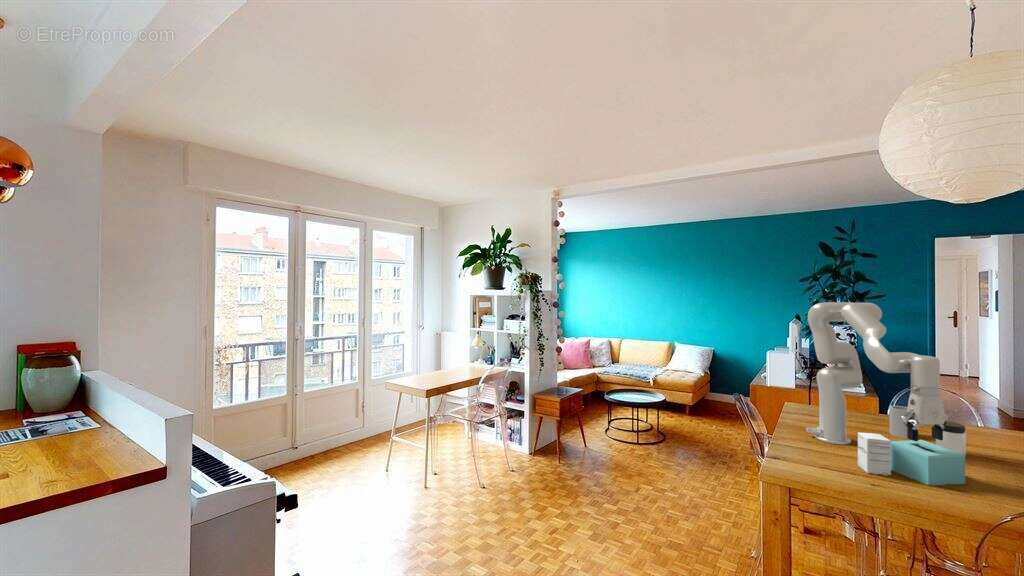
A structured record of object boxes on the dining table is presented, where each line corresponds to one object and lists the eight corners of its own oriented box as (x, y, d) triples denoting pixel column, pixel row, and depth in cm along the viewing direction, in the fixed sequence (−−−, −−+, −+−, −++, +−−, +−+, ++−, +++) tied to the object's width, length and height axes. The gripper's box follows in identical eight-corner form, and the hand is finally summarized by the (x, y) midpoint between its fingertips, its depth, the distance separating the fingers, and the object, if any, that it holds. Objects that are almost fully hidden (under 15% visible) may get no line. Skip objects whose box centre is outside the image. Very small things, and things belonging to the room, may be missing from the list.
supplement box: (857, 465, 163) (857, 431, 163) (880, 468, 160) (880, 433, 160) (866, 473, 155) (866, 438, 156) (891, 476, 153) (891, 440, 153)
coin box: (928, 485, 146) (928, 455, 146) (887, 468, 160) (887, 441, 160) (965, 483, 148) (965, 454, 148) (922, 466, 161) (922, 439, 161)
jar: (962, 459, 169) (962, 428, 169) (933, 452, 175) (933, 423, 175) (968, 454, 173) (968, 424, 173) (940, 448, 180) (940, 419, 180)
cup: (888, 430, 203) (888, 404, 203) (915, 434, 198) (915, 407, 198) (891, 435, 196) (891, 409, 196) (918, 439, 191) (918, 412, 191)
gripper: (914, 394, 149) (914, 444, 149) (958, 392, 151) (958, 442, 151) (892, 389, 157) (892, 436, 157) (935, 388, 158) (935, 435, 158)
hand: (925, 439), depth 154 cm, fingers open, 9 cm apart
